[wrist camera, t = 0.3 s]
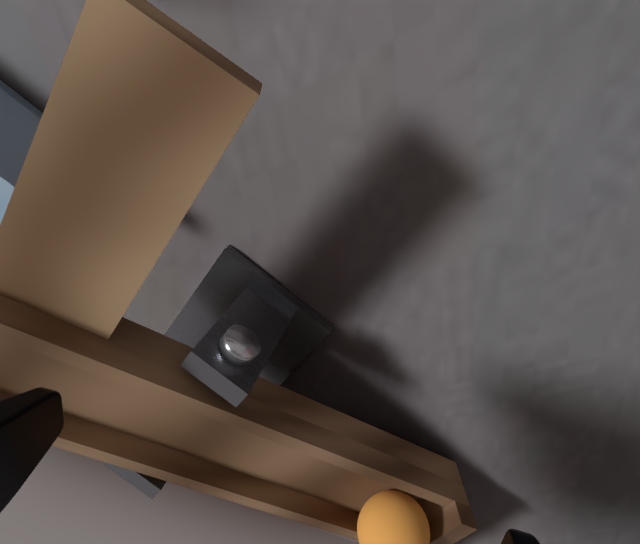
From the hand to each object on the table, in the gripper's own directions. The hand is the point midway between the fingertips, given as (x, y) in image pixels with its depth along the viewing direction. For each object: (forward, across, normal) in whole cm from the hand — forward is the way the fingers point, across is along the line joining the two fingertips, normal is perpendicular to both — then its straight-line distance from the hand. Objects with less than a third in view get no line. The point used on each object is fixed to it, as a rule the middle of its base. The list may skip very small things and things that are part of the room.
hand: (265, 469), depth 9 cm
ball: (+8, -4, +11) cm, 14 cm away
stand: (+12, +5, +6) cm, 14 cm away
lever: (+8, +1, +3) cm, 9 cm away
